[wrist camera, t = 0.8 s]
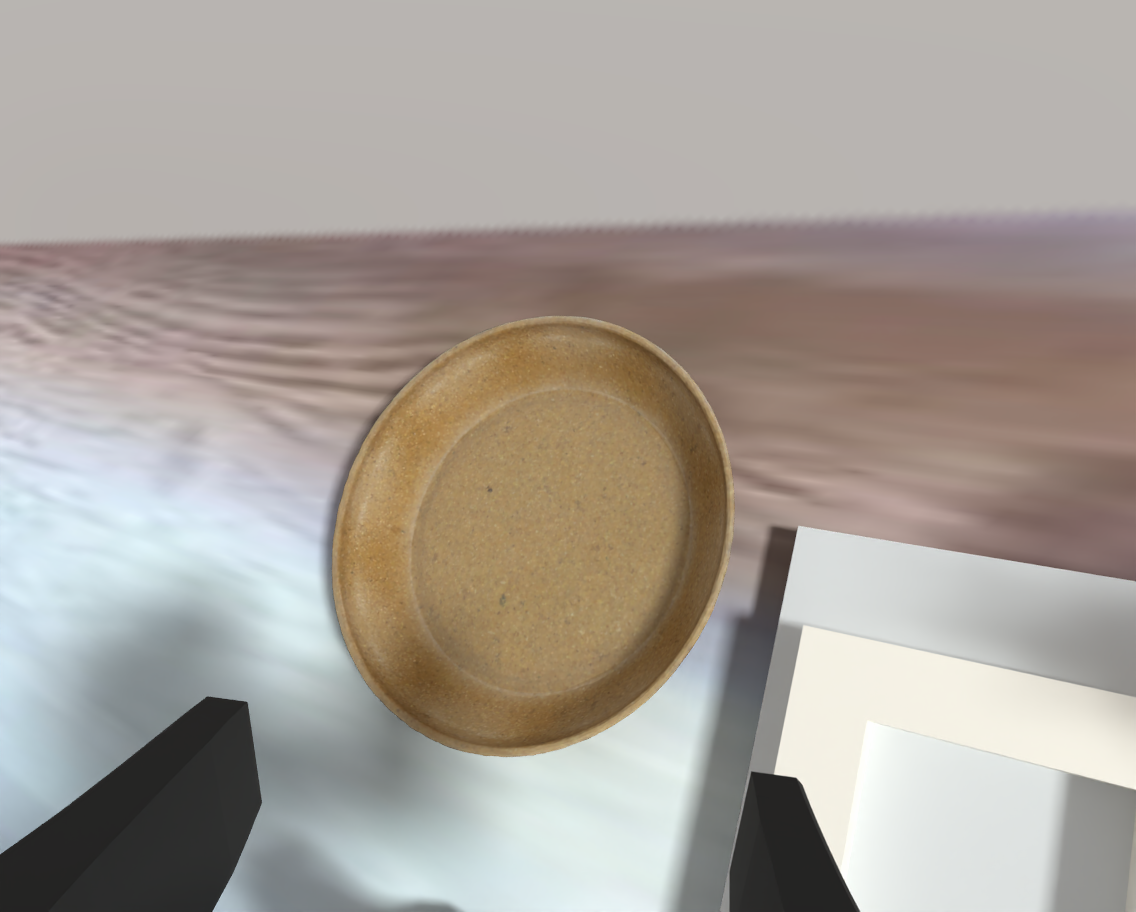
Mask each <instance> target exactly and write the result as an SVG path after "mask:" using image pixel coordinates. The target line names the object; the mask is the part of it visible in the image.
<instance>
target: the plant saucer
mask: <svg viewBox="0 0 1136 912" xmlns="http://www.w3.org/2000/svg"><path fill="white" fill-rule="evenodd" d="M734 509H735V502H734V484H733V476H732V470H731V464H730V459H729V455H728V451H727V446H726V443H725V440H724V437H723V434H722V431H721V428H720V426H719V424H718V421H717V419H716V417H715V415H714V412H713V410H712V408H711V406H710V405H709V403H708V401H707V400H706V398H705V396H704V395H703V393H702V392H701V390H700V388H699V387H698V385H696V384H695V382H694V381H693V380H692V378H691V377H690V376H689V374H688V373H687V372H686V371H685V370H684V369H683V368H682V367H681V366H680V365H678V363H677V362H676V361H675V360H674V359H673V358H671V357H670V356H669V355H668V354H667V353H666V352H665V351H663V350H662V349H661V348H659V347H658V346H656V345H655V344H653V343H652V342H650V341H648V340H647V339H645V338H644V337H642V336H640V335H637V334H635V333H633V332H632V331H630V330H627V329H625V328H623V327H620V326H617V325H614V324H611V323H608V322H605V321H600V320H596V319H592V318H586V317H575V316H547V317H545V316H544V317H536V318H529V319H524V320H520V321H515V322H510V323H506V324H503V325H500V326H497V327H493V328H490V329H488V330H485V331H482V332H480V333H478V334H476V335H474V336H473V337H471V338H469V339H467V340H465V341H463V342H461V343H459V344H457V345H455V346H454V347H452V348H451V349H449V350H447V351H446V352H444V353H443V354H441V355H440V356H439V357H437V358H436V359H435V360H434V361H432V362H431V363H430V364H428V365H427V366H426V367H425V368H424V369H422V370H421V371H420V372H419V373H418V374H417V375H416V376H414V377H413V378H412V379H411V380H410V381H409V382H408V383H407V384H406V385H405V386H404V387H403V389H402V390H401V391H400V392H399V393H398V394H397V395H396V396H395V397H394V398H393V400H392V401H391V403H390V404H389V405H388V406H387V407H386V409H385V410H384V411H383V412H382V413H381V415H380V416H379V418H378V419H377V421H376V422H375V424H374V426H373V427H372V429H371V430H370V432H369V434H368V435H367V437H366V439H365V440H364V442H363V444H362V446H361V448H360V451H359V453H358V455H357V457H356V458H355V461H354V463H353V466H352V468H351V470H350V472H349V476H348V479H347V481H346V484H345V487H344V490H343V495H342V498H341V501H340V504H339V508H338V513H337V520H336V525H335V532H334V538H333V550H332V588H333V595H334V601H335V609H336V613H337V617H338V621H339V624H340V628H341V631H342V635H343V637H344V641H345V643H346V646H347V649H348V650H349V653H350V655H351V657H352V659H353V661H354V663H355V665H356V666H357V668H358V670H359V672H360V674H361V675H362V677H363V679H364V680H365V682H366V684H367V685H368V686H369V688H370V689H371V690H372V691H373V693H374V694H375V695H376V696H377V697H378V698H379V699H380V700H381V701H382V702H383V703H384V705H385V706H386V707H387V708H388V709H389V710H390V711H392V712H393V713H394V714H395V715H396V716H397V717H398V718H400V719H401V720H402V721H404V722H405V723H406V724H407V725H408V726H409V727H411V728H412V729H414V730H416V731H418V732H420V733H422V734H423V735H425V736H426V737H428V738H430V739H432V740H434V741H436V742H439V743H441V744H443V745H445V746H447V747H450V748H453V749H456V750H460V751H463V752H468V753H474V754H480V755H484V756H500V757H517V756H527V755H536V754H541V753H546V752H550V751H554V750H558V749H562V748H565V747H567V746H570V745H572V744H575V743H578V742H581V741H583V740H586V739H589V738H591V737H592V736H595V735H597V734H598V733H600V732H602V731H604V730H606V729H608V728H609V727H611V726H613V725H615V724H616V723H618V722H619V721H621V720H622V719H624V718H625V717H627V716H628V715H630V714H631V713H633V712H634V711H635V710H636V709H637V708H639V707H640V706H641V705H642V704H644V703H645V702H646V701H647V700H648V699H649V698H651V697H652V696H653V695H654V694H655V693H656V692H657V691H658V690H659V689H660V688H661V687H662V685H663V684H664V683H665V682H666V681H667V680H668V679H669V678H670V677H671V675H672V674H673V673H674V672H675V671H676V669H677V668H678V666H679V665H680V664H681V662H682V661H683V660H684V658H685V657H686V656H687V654H688V653H689V652H690V650H691V649H692V647H693V646H694V644H695V643H696V641H697V639H698V638H699V636H700V634H701V632H702V630H703V628H704V627H705V625H706V623H707V621H708V619H709V617H710V615H711V613H712V611H713V609H714V606H715V603H716V600H717V597H718V595H719V592H720V589H721V586H722V583H723V580H724V576H725V574H726V571H727V566H728V562H729V558H730V552H731V546H732V540H733V532H734Z"/></svg>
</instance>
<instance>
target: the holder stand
mask: <svg viewBox="0 0 1136 912" xmlns="http://www.w3.org/2000/svg"><path fill="white" fill-rule="evenodd" d="M751 771H752V772H760V773H767V774H774V775H781V776H789V777H796V778H797V779H798V780H799V781H800V782H801V784H802V785H803V787H804V790H805V793H806V795H807V798H808V800H809V803H810V805H811V808H812V810H813V812H814V815H815V817H816V820H817V822H818V824H819V827H820V829H821V831H822V833H823V836H824V838H825V840H826V842H827V845H828V847H829V849H830V851H831V853H832V855H833V857H834V860H835V862H836V864H837V866H838V868H839V870H840V872H841V874H842V877H843V879H844V881H845V883H846V885H847V887H848V889H849V891H850V893H851V895H852V897H853V899H854V900H855V902H856V904H857V906H858V908H859V910H860V912H1136V581H1130V580H1124V579H1118V578H1112V577H1106V576H1100V575H1094V574H1088V573H1082V572H1075V571H1069V570H1063V569H1057V568H1051V567H1045V566H1039V565H1033V564H1027V563H1021V562H1015V561H1009V560H1003V559H996V558H990V557H984V556H978V555H972V554H966V553H960V552H954V551H948V550H942V549H936V548H930V547H924V546H917V545H911V544H905V543H899V542H893V541H887V540H881V539H875V538H869V537H863V536H857V535H851V534H845V533H838V532H832V531H826V530H820V529H814V528H808V527H802V526H798V530H797V535H796V540H795V545H794V550H793V554H792V559H791V564H790V569H789V574H788V579H787V584H786V589H785V594H784V599H783V603H782V608H781V613H780V618H779V623H778V628H777V633H776V638H775V643H774V647H773V652H772V657H771V662H770V667H769V672H768V677H767V682H766V687H765V691H764V696H763V701H762V706H761V711H760V716H759V721H758V726H757V731H756V736H755V740H754V745H753V750H752V755H751V760H750V765H749V770H748V775H747V780H746V784H745V789H744V794H743V799H742V804H741V809H740V814H739V819H738V824H737V829H736V833H735V838H734V843H733V848H732V853H731V858H730V863H729V868H728V873H727V877H726V882H725V887H724V892H723V897H722V902H721V907H720V912H729V871H730V867H731V862H732V858H733V853H734V848H735V844H736V839H737V835H738V830H739V825H740V821H741V816H742V812H743V807H744V802H745V798H746V793H747V789H748V784H749V779H750V775H751Z"/></svg>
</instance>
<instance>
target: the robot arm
mask: <svg viewBox="0 0 1136 912" xmlns="http://www.w3.org/2000/svg"><path fill="white" fill-rule="evenodd" d="M261 804H262V800H261V793H260V786H259V779H258V772H257V765H256V758H255V751H254V744H253V737H252V730H251V723H250V716H249V709H248V702H244V701H236V700H229V699H222V698H215V697H206V698H205V699H203V700H202V701H201V702H199V703H198V704H197V705H196V706H194V707H193V708H192V709H190V710H189V711H188V712H187V713H185V714H184V715H183V716H181V717H180V718H179V719H178V720H176V721H175V722H174V723H173V724H171V725H170V726H169V727H168V728H166V729H165V730H164V731H163V732H161V733H160V734H159V735H158V736H156V737H155V738H154V739H153V740H151V741H150V742H149V743H148V744H146V745H145V746H144V747H143V748H141V749H140V750H139V751H138V752H136V753H135V754H134V755H133V756H131V757H130V758H129V759H128V760H126V761H125V762H124V763H123V764H121V765H120V766H119V767H118V768H116V769H115V770H114V771H112V772H111V773H110V774H108V775H107V776H106V777H105V778H103V779H102V780H101V781H99V782H98V783H97V784H96V785H94V786H93V787H92V788H90V789H89V790H88V791H86V792H85V793H84V794H83V795H81V796H80V797H79V798H77V799H76V800H75V801H73V802H72V803H71V804H70V805H68V806H67V807H66V808H64V809H63V810H62V811H60V812H59V813H58V814H56V815H55V816H53V817H52V818H51V819H49V820H48V821H46V822H45V823H44V824H42V825H41V826H39V827H38V828H37V829H35V830H34V831H32V832H31V833H30V834H28V835H27V836H25V837H24V838H23V839H21V840H20V841H18V842H17V843H16V844H14V845H13V846H11V847H10V848H9V849H7V850H6V851H4V852H3V853H2V854H0V912H212V911H213V909H214V907H215V905H216V904H217V902H218V900H219V898H220V896H221V894H222V893H223V891H224V889H225V887H226V885H227V883H228V881H229V880H230V878H231V876H232V874H233V872H234V870H235V867H236V865H237V863H238V860H239V858H240V855H241V853H242V851H243V848H244V846H245V844H246V841H247V839H248V836H249V834H250V831H251V829H252V826H253V824H254V821H255V819H256V816H257V814H258V811H259V809H260V806H261ZM729 912H860V910H859V908H858V906H857V904H856V902H855V900H854V899H853V897H852V895H851V893H850V891H849V889H848V887H847V885H846V883H845V881H844V879H843V877H842V874H841V872H840V870H839V868H838V866H837V864H836V862H835V860H834V857H833V855H832V853H831V851H830V849H829V847H828V845H827V842H826V840H825V838H824V836H823V833H822V831H821V829H820V827H819V824H818V822H817V820H816V817H815V815H814V812H813V810H812V808H811V805H810V803H809V800H808V798H807V795H806V793H805V790H804V787H803V785H802V784H801V782H800V781H799V780H798V779H797V778H796V777H789V776H781V775H774V774H767V773H760V772H752V771H751V775H750V779H749V784H748V789H747V793H746V798H745V802H744V807H743V812H742V816H741V821H740V825H739V830H738V835H737V839H736V844H735V848H734V853H733V858H732V862H731V867H730V871H729Z"/></svg>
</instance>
